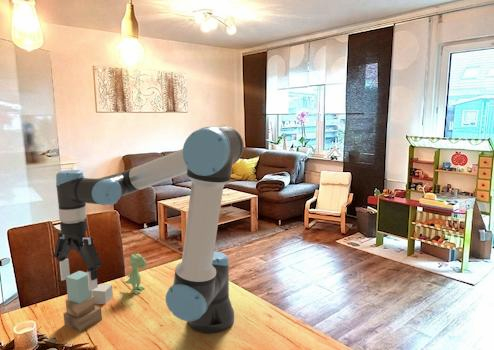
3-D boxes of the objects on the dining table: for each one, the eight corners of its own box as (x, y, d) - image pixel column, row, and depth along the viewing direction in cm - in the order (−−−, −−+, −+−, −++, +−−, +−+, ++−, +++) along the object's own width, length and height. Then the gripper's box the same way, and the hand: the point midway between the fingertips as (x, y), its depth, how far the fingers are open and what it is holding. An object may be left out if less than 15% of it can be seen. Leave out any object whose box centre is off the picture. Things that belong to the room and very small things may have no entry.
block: (112, 297, 132) (112, 284, 131) (105, 304, 127) (104, 291, 126) (100, 296, 133) (99, 283, 132) (92, 303, 128) (91, 290, 127)
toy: (148, 292, 135) (146, 255, 133) (126, 297, 132) (125, 258, 129) (143, 284, 142) (142, 249, 139) (123, 289, 138) (121, 252, 135)
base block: (102, 320, 118) (101, 308, 117) (80, 333, 111) (79, 320, 110) (86, 313, 121) (85, 301, 121) (64, 325, 114) (63, 313, 114)
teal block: (92, 296, 115) (90, 273, 114) (79, 303, 111) (77, 279, 109) (81, 293, 117) (79, 270, 116) (68, 300, 113) (65, 276, 112)
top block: (94, 309, 116) (94, 296, 115) (78, 318, 111) (77, 305, 110) (83, 304, 119) (82, 291, 118) (66, 312, 114) (65, 300, 113)
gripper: (111, 222, 107) (115, 287, 111) (59, 211, 119) (65, 270, 122) (89, 229, 100) (95, 298, 104) (37, 217, 112) (44, 279, 116)
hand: (79, 283), depth 113 cm, fingers open, 13 cm apart
